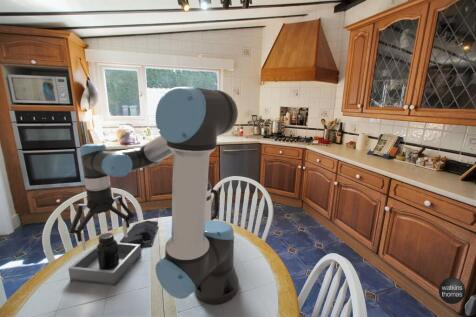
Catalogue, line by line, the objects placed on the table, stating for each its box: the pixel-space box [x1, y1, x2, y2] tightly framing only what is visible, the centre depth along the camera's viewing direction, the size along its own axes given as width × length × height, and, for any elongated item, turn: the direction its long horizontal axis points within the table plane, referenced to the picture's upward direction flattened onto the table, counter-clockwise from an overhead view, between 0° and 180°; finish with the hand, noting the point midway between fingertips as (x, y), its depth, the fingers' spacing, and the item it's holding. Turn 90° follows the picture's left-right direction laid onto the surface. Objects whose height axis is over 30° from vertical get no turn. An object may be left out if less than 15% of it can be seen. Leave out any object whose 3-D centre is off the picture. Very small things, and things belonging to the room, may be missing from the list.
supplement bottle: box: [96, 232, 119, 270], centre depth 88 cm, size 7×7×12 cm
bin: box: [68, 241, 142, 287], centre depth 89 cm, size 17×17×5 cm
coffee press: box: [205, 180, 220, 221], centre depth 110 cm, size 17×16×30 cm
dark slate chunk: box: [118, 220, 159, 249], centre depth 111 cm, size 15×22×5 cm
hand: (106, 241), depth 87 cm, fingers open, 13 cm apart
